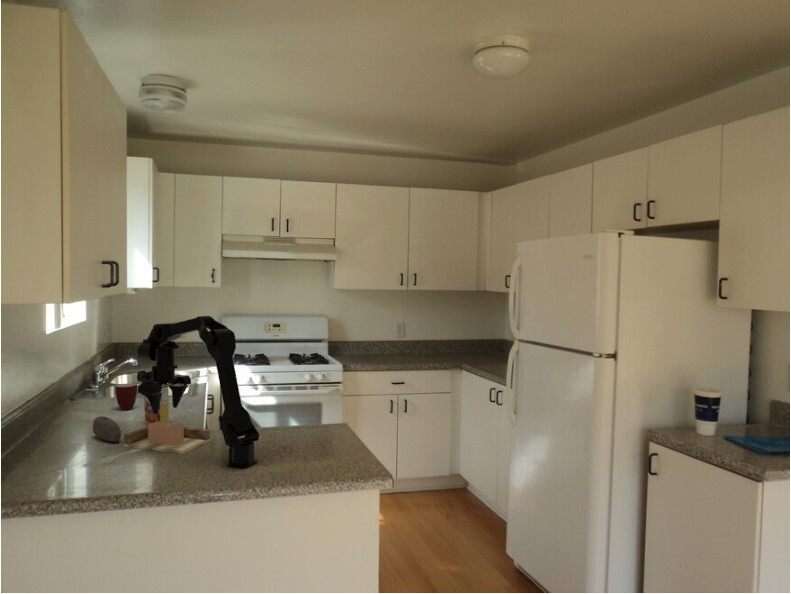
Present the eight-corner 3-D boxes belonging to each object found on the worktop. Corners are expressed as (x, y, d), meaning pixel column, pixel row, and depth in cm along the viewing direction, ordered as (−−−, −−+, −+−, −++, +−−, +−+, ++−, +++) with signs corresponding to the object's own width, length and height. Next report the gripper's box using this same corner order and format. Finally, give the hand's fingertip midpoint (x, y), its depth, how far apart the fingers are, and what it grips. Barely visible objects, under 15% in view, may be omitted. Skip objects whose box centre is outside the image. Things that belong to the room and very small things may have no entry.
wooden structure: (209, 441, 197) (209, 429, 197) (182, 453, 184) (182, 440, 184) (154, 435, 204) (154, 424, 204) (124, 447, 190) (124, 434, 190)
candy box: (143, 424, 219) (142, 382, 219) (153, 421, 223) (152, 381, 223) (159, 427, 215) (159, 385, 214) (169, 424, 219) (169, 383, 218)
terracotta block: (157, 439, 195) (157, 420, 195) (183, 442, 192) (183, 423, 192) (148, 443, 191) (148, 423, 191) (174, 445, 188) (174, 426, 188)
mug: (107, 409, 242) (107, 385, 242) (125, 405, 249) (124, 382, 249) (124, 412, 237) (123, 387, 237) (141, 408, 244) (141, 384, 244)
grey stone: (126, 442, 195) (126, 421, 195) (110, 446, 192) (109, 424, 191) (107, 434, 206) (107, 414, 205) (91, 437, 202) (91, 417, 201)
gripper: (163, 357, 202) (164, 402, 202) (123, 365, 184) (123, 415, 185) (191, 358, 198) (192, 405, 199) (152, 367, 181) (153, 418, 181)
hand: (165, 410), depth 191 cm, fingers open, 9 cm apart
